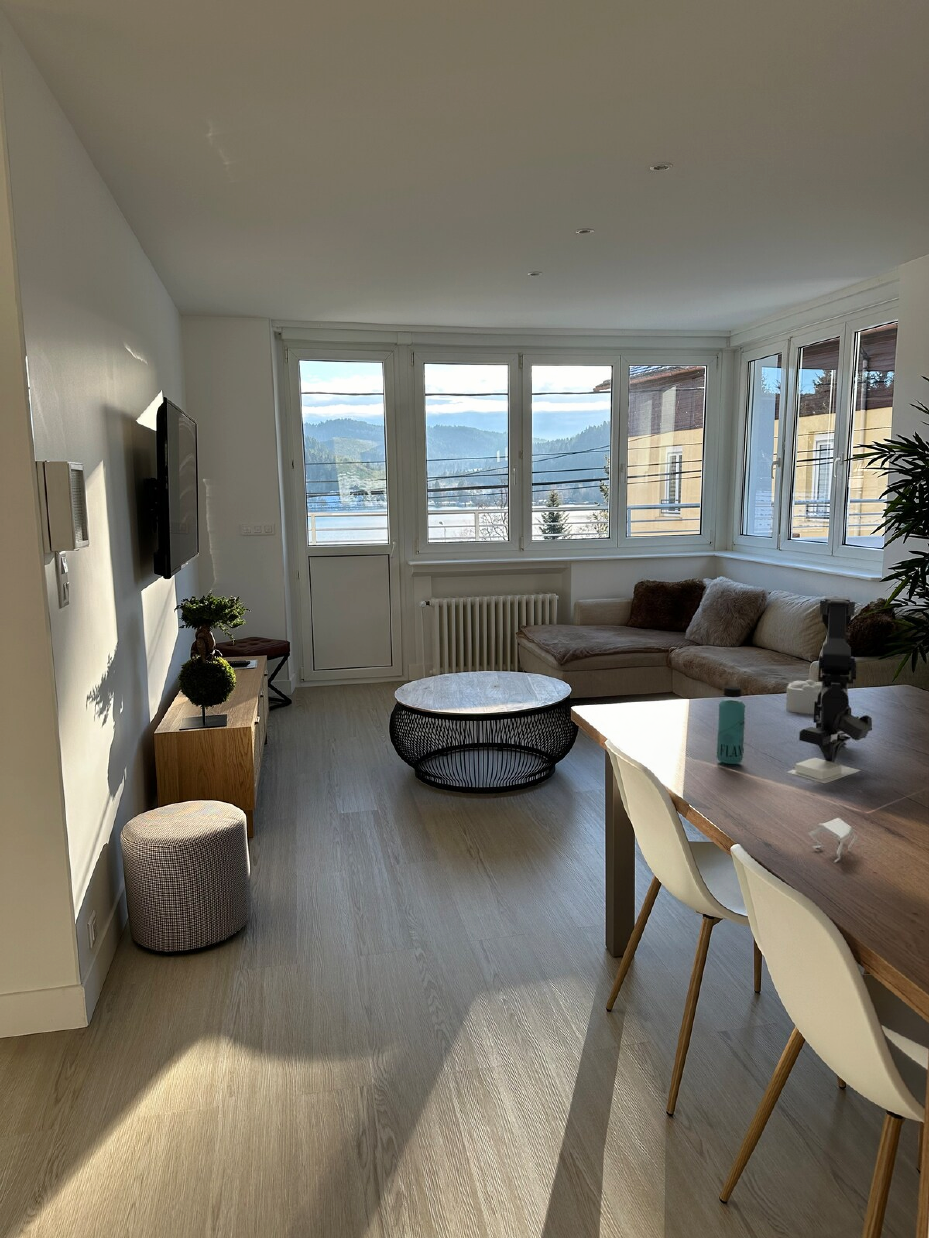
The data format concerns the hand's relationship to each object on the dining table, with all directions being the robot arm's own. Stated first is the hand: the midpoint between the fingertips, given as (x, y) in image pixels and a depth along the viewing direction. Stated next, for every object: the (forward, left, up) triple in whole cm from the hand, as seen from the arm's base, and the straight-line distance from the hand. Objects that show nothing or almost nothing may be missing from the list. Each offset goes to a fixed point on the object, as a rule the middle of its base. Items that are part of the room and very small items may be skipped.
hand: (830, 764), depth 205 cm
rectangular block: (0, -1, 0) cm, 1 cm away
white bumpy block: (-36, +47, -2) cm, 59 cm away
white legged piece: (+27, -42, -2) cm, 50 cm away
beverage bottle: (-17, -16, -2) cm, 23 cm away
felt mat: (0, -3, -1) cm, 3 cm away
